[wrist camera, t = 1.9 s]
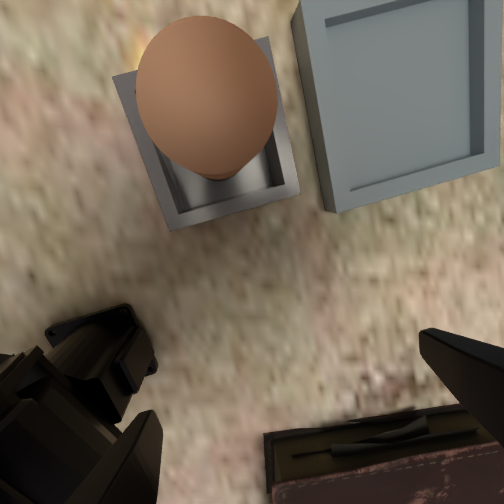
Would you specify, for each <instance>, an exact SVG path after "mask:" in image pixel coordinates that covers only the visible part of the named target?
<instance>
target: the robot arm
mask: <svg viewBox="0 0 504 504" xmlns="http://www.w3.org/2000/svg"><path fill="white" fill-rule="evenodd" d="M122 309H125V310H126V311H127V313H125V312H123V311H122ZM52 331H54V332H55V333H53V332H52ZM45 336H46V337H47V339H48V341H49V342H50V344H51V346H52V347H53V349H52V350H51V351H50V352H49V353H48V354H47V355H46V356H44V355H43V353H44V352H43V351H42V350H41V349H40V348H39V347H38V346H37V345H36V346H34V347H33V348H31V349H29V350H27V351H26V352H24V353H23V352H21V353H19V354H17V355H14V354H13V355H6V354H0V504H156V502H157V495H158V486H159V475H160V464H161V453H162V442H163V429H162V426H161V424H160V422H159V420H158V418H157V415H156V413H155V412H154V410H147V411H144V412H141V413H139V414H138V415H137V416H136V417H135V419H134V420H133V421H132V422H131V423H130V425H129V426H128V427H127V428H126V429H125V431H124V432H123V433H122V432H121V431H120V430H119V429H118V428H117V427H116V426H115V425H114V424H116V423H119V422H121V420H122V418H123V416H124V413H125V411H126V409H127V406H128V404H129V402H130V399H131V397H132V395H134V394H137V392H138V391H139V389H140V386H141V384H142V381H143V379H144V377H145V376H149V375H152V374H154V373H156V371H157V368H158V364H157V361H156V359H155V357H154V350H153V348H152V346H151V343H150V341H149V339H148V337H147V335H146V332H145V330H144V328H143V327H142V326H140V324H139V322H138V320H137V318H136V316H135V314H134V311H133V309H132V307H131V306H130V305H128V304H121V305H118V306H115V307H111V308H108V309H105V310H101V311H98V312H94V313H91V314H88V315H84V316H81V317H78V318H74V319H71V320H68V321H64V322H61V323H57V324H54V325H51V326H50V327H48V328H47V329H46V330H45ZM419 349H420V354H421V356H422V358H423V359H424V360H425V361H426V363H427V364H428V365H429V366H430V368H431V369H432V370H433V371H434V372H435V374H436V375H437V376H438V377H439V378H440V380H441V381H442V382H443V383H444V385H445V386H446V387H447V388H448V389H449V391H450V392H451V393H452V394H453V395H454V397H455V398H456V399H457V400H458V401H459V402H460V403H461V404H462V405H463V407H464V408H465V409H466V410H467V411H468V412H469V413H470V414H471V415H472V416H473V417H474V418H475V419H476V420H477V421H478V422H479V423H480V424H481V425H482V426H483V427H484V428H485V429H486V430H487V431H488V432H489V433H490V434H491V435H492V437H493V438H494V439H495V440H496V441H497V442H498V443H499V444H500V445H501V446H502V447H503V448H504V348H502V347H498V346H495V345H491V344H488V343H484V342H481V341H477V340H474V339H470V338H467V337H464V336H460V335H457V334H453V333H450V332H446V331H443V330H439V329H436V328H428V329H424V330H421V331H420V332H419ZM149 367H153V369H151V368H149Z"/></svg>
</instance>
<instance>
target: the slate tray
mask: <svg viewBox="0 0 504 504" xmlns="http://www.w3.org/2000/svg"><path fill="white" fill-rule="evenodd" d="M502 9H503V0H300V1H299V3H298V6H297V8H296V10H295V13H294V15H293V18H292V20H291V26H292V32H293V37H294V43H295V48H296V54H297V59H298V64H299V70H300V75H301V81H302V86H303V92H304V97H305V103H306V108H307V114H308V119H309V125H310V130H311V135H312V141H313V146H314V152H315V157H316V163H317V168H318V174H319V179H320V185H321V190H322V196H323V201H324V206H325V211H328V212H333V213H340V212H344V211H347V210H350V209H354V208H357V207H361V206H364V205H368V204H371V203H374V202H378V201H381V200H385V199H388V198H392V197H395V196H398V195H402V194H405V193H409V192H412V191H416V190H419V189H422V188H426V187H429V186H433V185H436V184H440V183H443V182H446V181H450V180H453V179H457V178H460V177H463V176H467V175H470V174H474V173H477V172H481V171H484V170H487V169H491V168H494V167H498V166H500V117H501V63H502Z"/></svg>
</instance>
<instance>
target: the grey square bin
mask: <svg viewBox="0 0 504 504" xmlns="http://www.w3.org/2000/svg"><path fill="white" fill-rule="evenodd" d="M254 41H255V42H256V43H257V44H258V46H259V47H260V49H261V50H262V51H263V53H264V54H265V56H266V58H267V60H268V62H269V64H270V66H271V69H272V71H273V74H274V78H275V82H276V87H277V97H278V106H277V115H276V120H275V124H274V127H273V130H272V133H271V135H270V137H269V139H268V141H267V142H266V144H265V146H264V147H263V148H262V150H261V151H260V152H259V153H258V154H257V155H256V156H255V157H254V158H253V159H252V160H251V161H250V162H249V163H248V164H247V165H246V166H244V167H243V168H242V169H241V170H240V171H239V172H238V173H237V174H236V175H234V176H233V177H231V178H229V179H227V180H223V181H213V180H209V179H206V178H204V177H202V176H200V175H198V174H196V173H194V172H192V171H190V170H188V169H186V168H184V167H182V166H180V165H178V164H177V163H175V162H174V161H172V160H171V159H169V158H168V157H167V156H166V155H165V154H164V153H163V152H162V151H161V150H160V149H159V148H158V147H157V146H156V145H155V143H154V142H153V141H152V139H151V138H150V136H149V135H148V133H147V131H146V129H145V127H144V125H143V122H142V120H141V117H140V114H139V110H138V106H137V100H136V77H137V72H138V70H136V71H132V72H128V73H124V74H120V75H117V76H113V77H112V78H113V81H114V84H115V87H116V89H117V92H118V95H119V97H120V100H121V103H122V105H123V108H124V111H125V113H126V116H127V119H128V121H129V124H130V127H131V129H132V132H133V135H134V137H135V140H136V143H137V145H138V148H139V151H140V154H141V156H142V159H143V162H144V164H145V167H146V170H147V172H148V175H149V178H150V180H151V183H152V186H153V188H154V191H155V194H156V196H157V199H158V202H159V204H160V207H161V210H162V212H163V215H164V218H165V221H166V223H167V226H168V229H169V231H170V232H171V231H174V230H178V229H181V228H185V227H188V226H192V225H195V224H199V223H202V222H206V221H209V220H213V219H216V218H220V217H223V216H227V215H230V214H234V213H237V212H240V211H244V210H247V209H251V208H254V207H258V206H261V205H265V204H268V203H272V202H275V201H279V200H282V199H286V198H289V197H293V196H296V195H300V194H301V192H300V187H299V182H298V177H297V172H296V167H295V163H294V158H293V153H292V148H291V143H290V139H289V134H288V129H287V124H286V119H285V114H284V110H283V105H282V100H281V95H280V90H279V85H278V81H277V76H276V71H275V66H274V61H273V57H272V52H271V47H270V42H269V37H268V36H267V37H264V38H260V39H256V40H254Z"/></svg>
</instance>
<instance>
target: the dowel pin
mask: <svg viewBox="0 0 504 504" xmlns="http://www.w3.org/2000/svg"><path fill="white" fill-rule="evenodd" d="M136 100H137V106H138V110H139V114H140V117H141V120H142V122H143V125H144V127H145V129H146V131H147V133H148V135H149V136H150V138H151V139H152V141H153V142H154V143H155V145H156V146H157V147H158V148H159V149H160V150H161V151H162V152H163V153H164V154H165V155H166V156H167V157H168V158H169V159H171V160H172V161H174V162H175V163H177V164H178V165H180V166H182V167H184V168H186V169H188V170H190V171H192V172H194V173H196V174H198V175H200V176H202V177H204V178H206V179H209V180H213V181H223V180H227V179H229V178H231V177H233V176H234V175H236V174H237V173H238V172H239V171H240V170H241V169H242V168H243V167H244V166H246V165H247V164H248V163H249V162H250V161H251V160H252V159H253V158H254V157H255V156H256V155H257V154H258V153H259V152H260V151H261V150H262V148H263V147H264V146H265V144H266V142H267V141H268V139H269V137H270V135H271V133H272V130H273V127H274V124H275V120H276V115H277V106H278V97H277V87H276V82H275V78H274V74H273V71H272V69H271V66H270V64H269V62H268V60H267V58H266V56H265V54H264V53H263V51H262V50H261V49H260V47H259V46H258V44H257V43H256V42H255V41H254V40H253V39H252V38H251V37H250V36H249V35H248V34H247V33H245V32H244V31H243V30H242V29H240V28H239V27H237V26H235V25H234V24H232V23H230V22H227V21H225V20H222V19H219V18H216V17H209V16H193V17H187V18H183V19H180V20H177V21H175V22H173V23H171V24H170V25H168V26H166V27H165V28H164V29H162V30H161V31H160V32H159V33H158V34H157V35H156V36H155V37H154V38H153V39H152V40H151V42H150V43H149V45H148V46H147V48H146V50H145V52H144V54H143V55H142V58H141V61H140V64H139V67H138V72H137V77H136Z"/></svg>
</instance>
